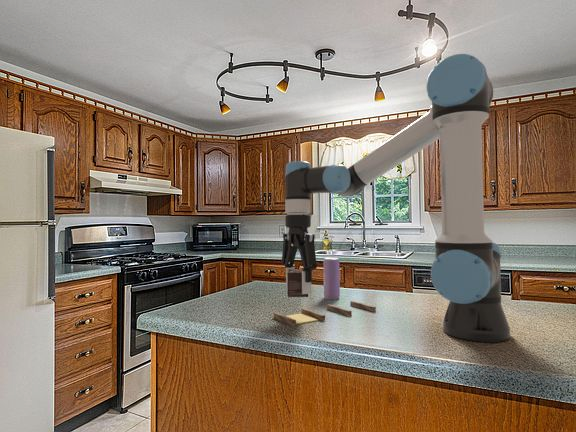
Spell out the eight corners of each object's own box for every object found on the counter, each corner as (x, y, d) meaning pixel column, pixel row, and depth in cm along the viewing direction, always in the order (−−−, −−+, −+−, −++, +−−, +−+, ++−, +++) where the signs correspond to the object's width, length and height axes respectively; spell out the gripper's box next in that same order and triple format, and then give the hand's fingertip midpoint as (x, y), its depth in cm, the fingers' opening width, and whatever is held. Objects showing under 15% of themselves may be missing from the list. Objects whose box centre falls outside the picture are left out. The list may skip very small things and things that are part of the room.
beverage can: (340, 299, 136) (340, 258, 136) (324, 299, 136) (324, 259, 136) (338, 296, 142) (338, 257, 142) (323, 296, 142) (322, 257, 142)
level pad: (318, 320, 107) (318, 319, 107) (296, 324, 103) (296, 323, 103) (301, 314, 114) (301, 313, 114) (280, 317, 110) (280, 316, 110)
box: (309, 293, 111) (308, 269, 112) (308, 297, 105) (308, 272, 106) (289, 293, 112) (288, 269, 112) (287, 297, 106) (287, 272, 106)
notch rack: (375, 311, 117) (375, 306, 117) (293, 326, 101) (292, 320, 101) (352, 305, 126) (352, 300, 126) (273, 317, 110) (273, 312, 110)
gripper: (329, 213, 102) (330, 295, 102) (290, 215, 120) (290, 284, 120) (307, 213, 98) (307, 298, 98) (270, 214, 116) (270, 287, 116)
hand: (298, 291), depth 109 cm, fingers closed on box, 8 cm apart
